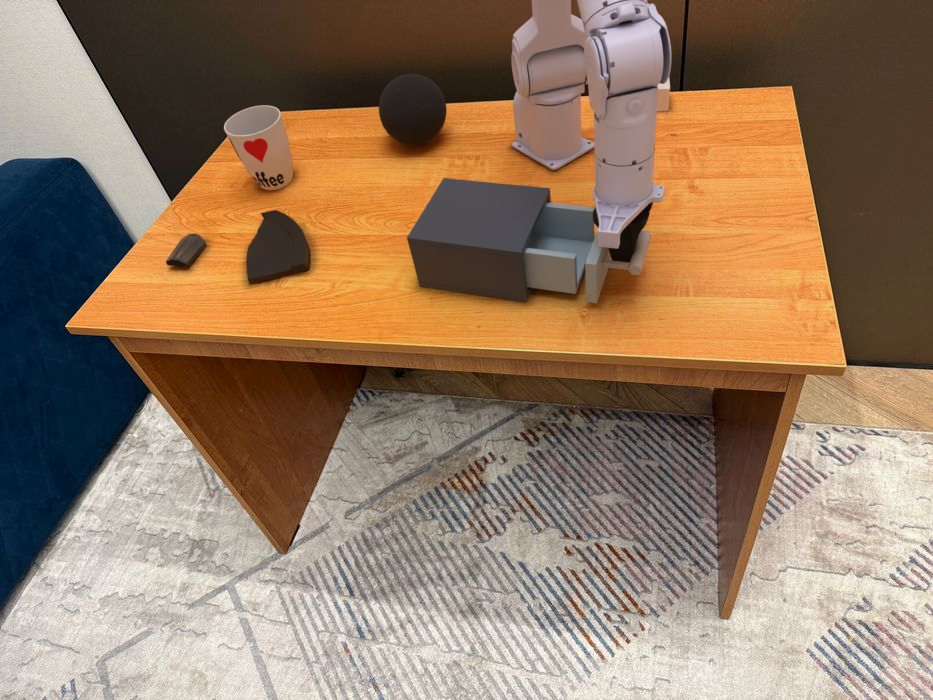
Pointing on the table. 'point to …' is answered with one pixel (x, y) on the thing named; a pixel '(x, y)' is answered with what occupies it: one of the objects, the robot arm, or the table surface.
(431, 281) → the cabinet
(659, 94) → the beige cube
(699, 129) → the table surface
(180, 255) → the block
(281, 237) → the dark sector wedge
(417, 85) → the black ball
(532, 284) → the drawer
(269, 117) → the cup
